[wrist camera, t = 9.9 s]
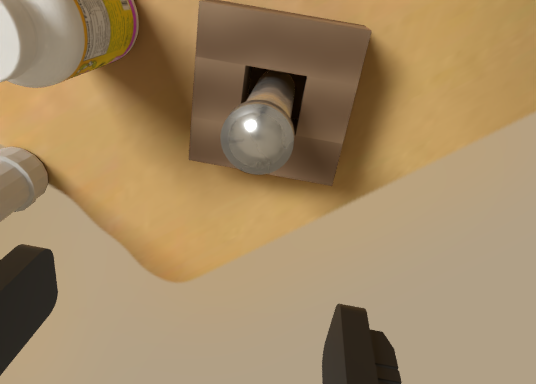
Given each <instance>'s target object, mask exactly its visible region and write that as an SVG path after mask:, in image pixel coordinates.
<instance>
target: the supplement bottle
mask: <svg viewBox="0 0 536 384" xmlns="http://www.w3.org/2000/svg"><path fill="white" fill-rule="evenodd" d="M138 30H139V20H138V13H137V8H136V5H135V3H134V0H0V82H3V81H9V82H11V83H14V84H17V85H20V86H24V87H32V88H41V87H47V86H51V85H54V84H57V83H60V82H63V81H65V80H68V79H70V78H73V77H75V76H78V75H81V74H83V73H86V72H89V71H91V70H94V69H96V68H99V67H102V66H104V65H107V64H109V63H112V62H114V61H116V60H118V59H120V58H122V57H123V56H125V55H126V54H127V53H128V52H129V51H130V50H131V48H132V47H133V45H134V43H135V41H136V38H137V35H138Z"/></svg>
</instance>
